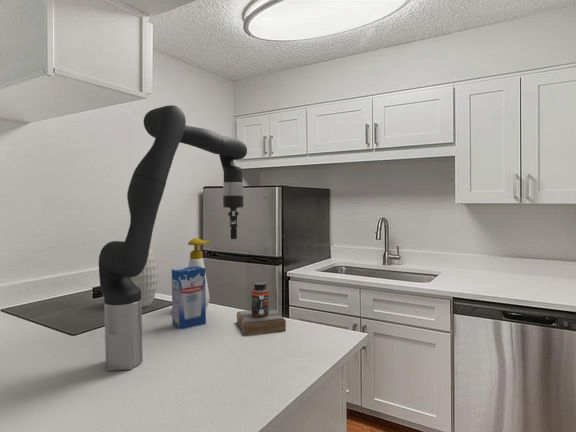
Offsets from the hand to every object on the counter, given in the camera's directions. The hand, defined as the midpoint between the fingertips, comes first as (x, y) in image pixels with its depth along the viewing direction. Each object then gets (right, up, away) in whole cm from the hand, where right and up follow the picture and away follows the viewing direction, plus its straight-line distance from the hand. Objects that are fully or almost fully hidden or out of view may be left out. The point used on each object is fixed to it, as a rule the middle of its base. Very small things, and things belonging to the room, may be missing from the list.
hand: (233, 237), depth 141 cm
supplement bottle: (+11, -27, -9) cm, 30 cm away
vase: (-41, -30, +17) cm, 53 cm away
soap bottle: (-16, -30, +11) cm, 35 cm away
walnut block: (+11, -31, -9) cm, 34 cm away
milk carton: (-15, -31, -7) cm, 35 cm away
